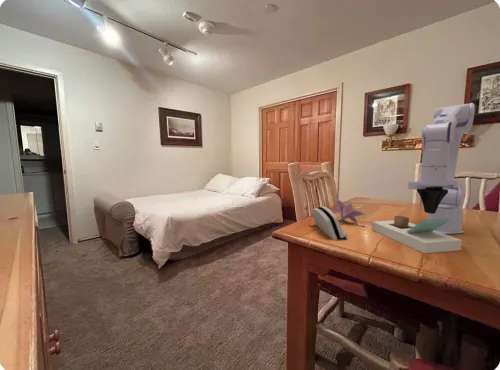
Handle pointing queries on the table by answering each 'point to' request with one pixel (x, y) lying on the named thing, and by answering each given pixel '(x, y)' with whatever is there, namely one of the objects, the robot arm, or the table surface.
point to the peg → (401, 222)
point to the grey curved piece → (328, 222)
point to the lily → (347, 211)
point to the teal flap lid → (428, 225)
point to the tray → (418, 238)
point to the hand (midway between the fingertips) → (429, 212)
